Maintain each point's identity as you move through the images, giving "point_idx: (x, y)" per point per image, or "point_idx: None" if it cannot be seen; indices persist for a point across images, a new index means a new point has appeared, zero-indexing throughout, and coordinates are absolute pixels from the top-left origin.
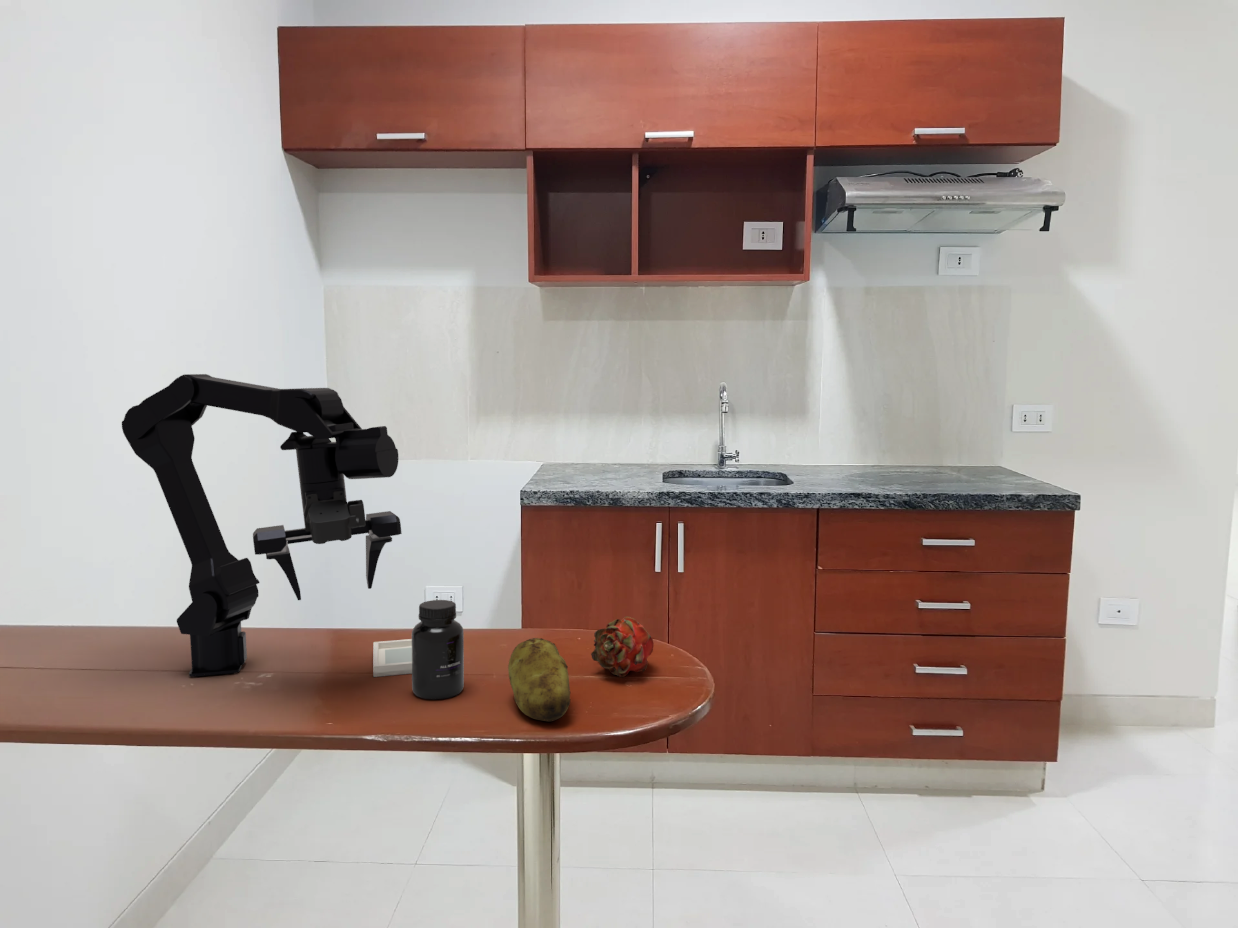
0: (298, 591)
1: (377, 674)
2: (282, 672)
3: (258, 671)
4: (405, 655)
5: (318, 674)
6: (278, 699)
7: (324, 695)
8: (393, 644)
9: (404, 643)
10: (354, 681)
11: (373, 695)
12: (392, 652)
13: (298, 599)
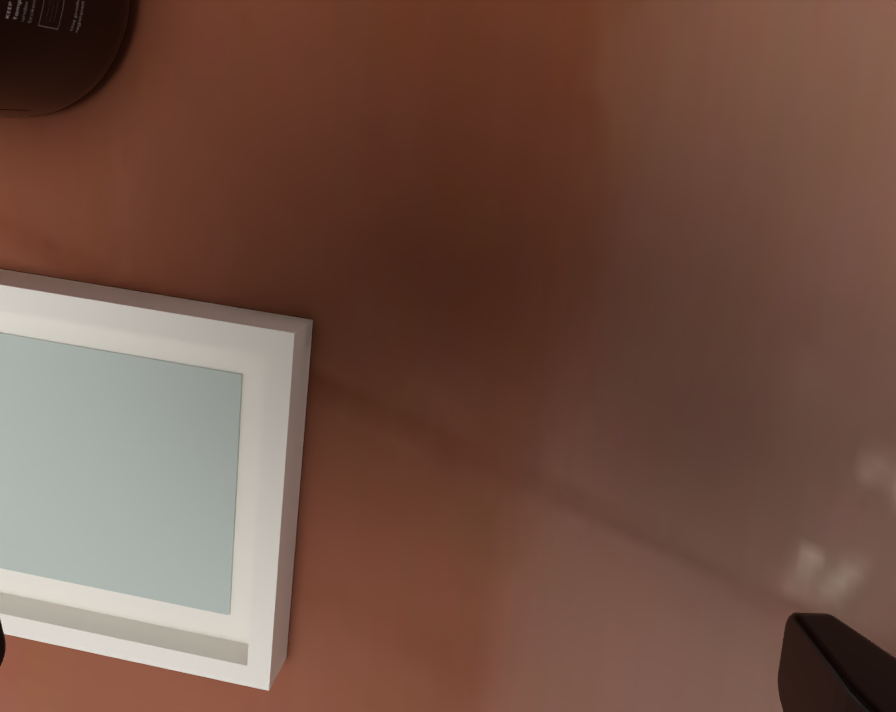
0: (863, 673)
1: (289, 318)
2: (737, 577)
3: None
4: (138, 494)
5: (570, 473)
6: (816, 196)
7: (576, 156)
8: (181, 641)
9: (130, 630)
10: (408, 299)
11: (333, 51)
12: (196, 562)
13: (823, 616)
